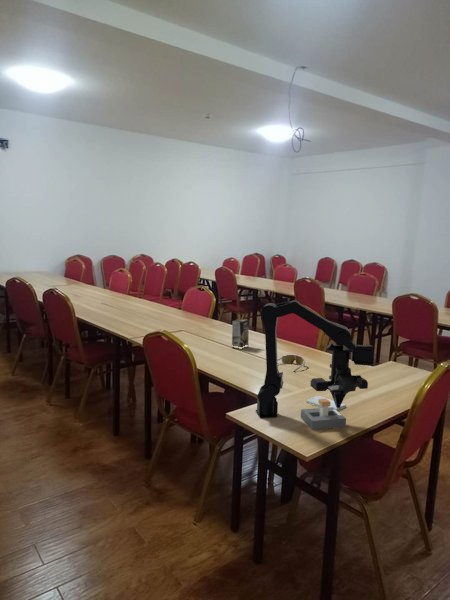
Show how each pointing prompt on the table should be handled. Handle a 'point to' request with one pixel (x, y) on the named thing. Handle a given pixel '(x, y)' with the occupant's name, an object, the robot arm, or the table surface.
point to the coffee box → (240, 332)
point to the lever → (324, 406)
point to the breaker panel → (323, 418)
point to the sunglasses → (291, 358)
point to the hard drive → (315, 399)
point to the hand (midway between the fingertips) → (337, 407)
